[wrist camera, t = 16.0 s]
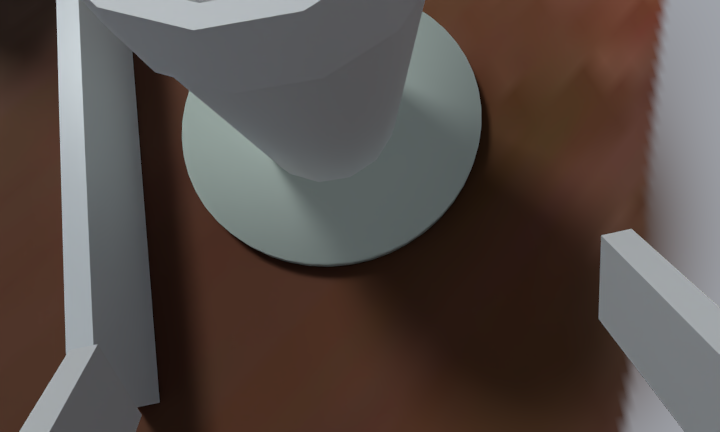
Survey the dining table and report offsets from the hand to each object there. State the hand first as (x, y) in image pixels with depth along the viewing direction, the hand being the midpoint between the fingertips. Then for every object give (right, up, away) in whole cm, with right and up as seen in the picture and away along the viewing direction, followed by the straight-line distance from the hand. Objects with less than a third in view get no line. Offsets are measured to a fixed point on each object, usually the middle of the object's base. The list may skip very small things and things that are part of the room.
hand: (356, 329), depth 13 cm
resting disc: (-1, +7, +11) cm, 13 cm away
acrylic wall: (-11, +5, +11) cm, 16 cm away
